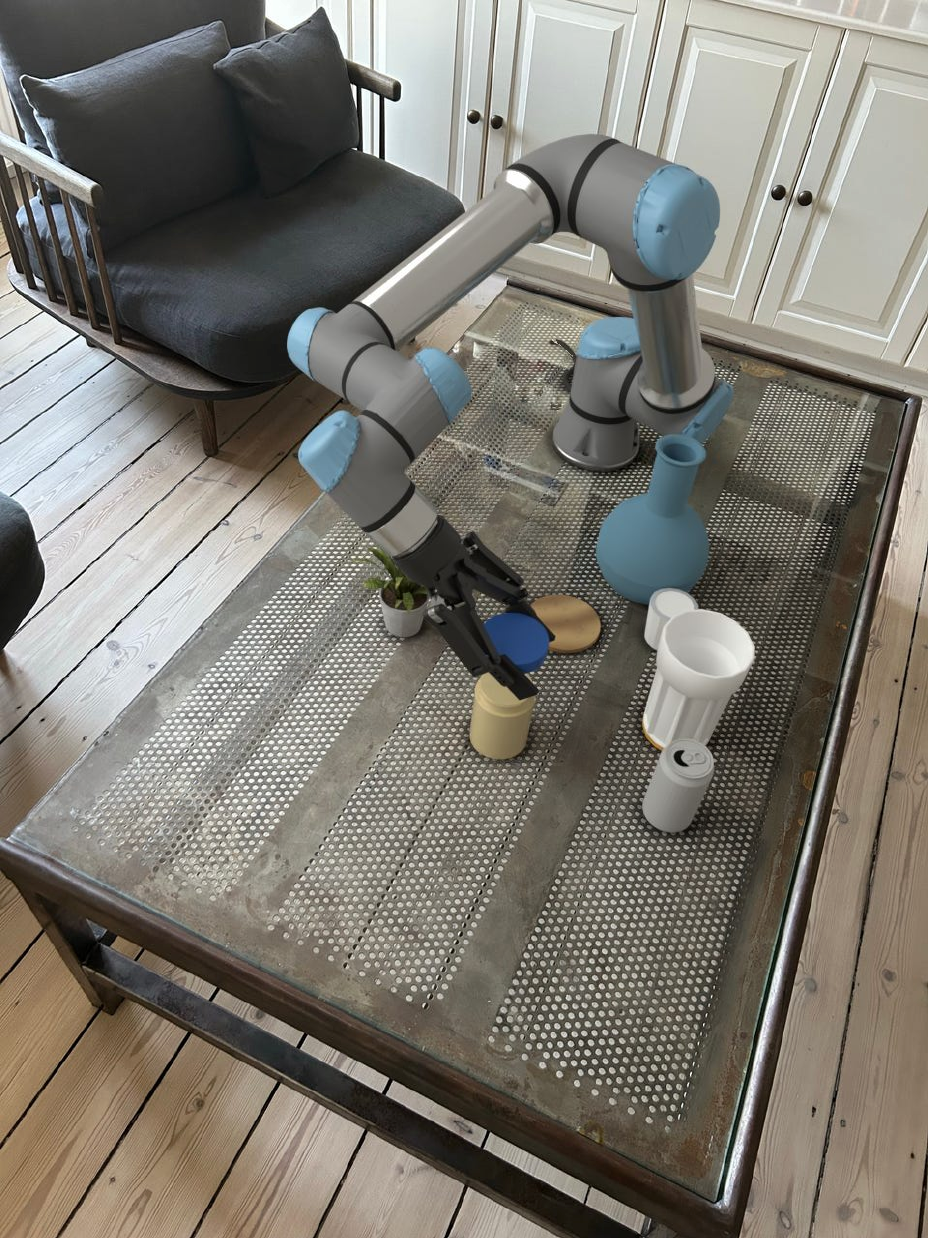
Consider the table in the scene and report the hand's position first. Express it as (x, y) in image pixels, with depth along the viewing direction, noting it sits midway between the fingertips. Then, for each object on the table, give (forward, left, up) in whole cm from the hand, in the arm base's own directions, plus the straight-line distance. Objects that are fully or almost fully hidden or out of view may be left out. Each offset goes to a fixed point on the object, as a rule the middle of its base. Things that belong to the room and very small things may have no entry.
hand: (538, 667), depth 117 cm
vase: (-21, +30, -15) cm, 40 cm away
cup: (+5, +20, -15) cm, 26 cm away
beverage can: (+16, +12, -15) cm, 25 cm away
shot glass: (-10, +27, -15) cm, 33 cm away
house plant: (-24, -9, -15) cm, 30 cm away
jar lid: (-2, -3, +4) cm, 5 cm away
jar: (-2, -3, -15) cm, 15 cm away
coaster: (-17, +14, -15) cm, 27 cm away
